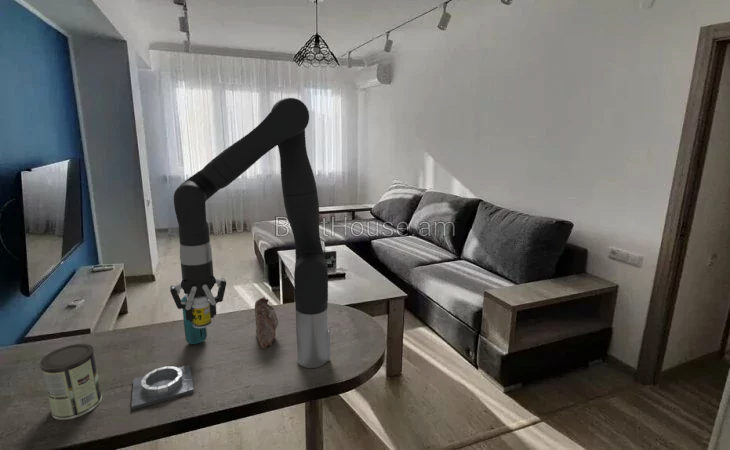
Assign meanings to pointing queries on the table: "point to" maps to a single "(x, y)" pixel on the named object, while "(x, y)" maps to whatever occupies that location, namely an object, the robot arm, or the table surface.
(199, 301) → the supplement bottle
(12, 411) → the table surface
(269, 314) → the stone
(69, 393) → the coffee can
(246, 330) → the table surface
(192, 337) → the beverage bottle
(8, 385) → the table surface
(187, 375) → the ring base
